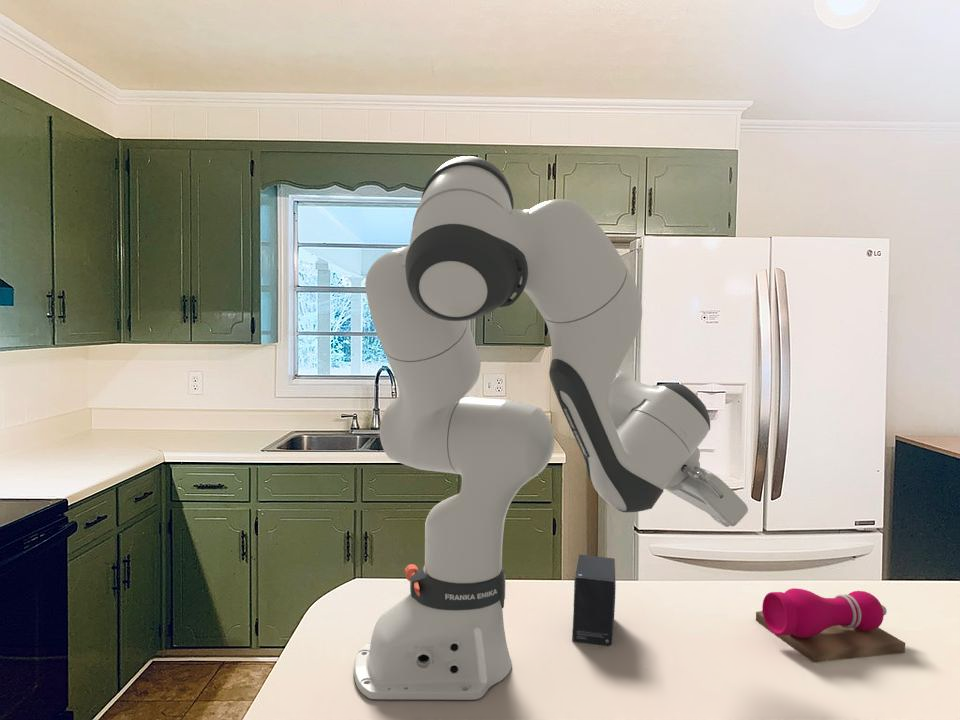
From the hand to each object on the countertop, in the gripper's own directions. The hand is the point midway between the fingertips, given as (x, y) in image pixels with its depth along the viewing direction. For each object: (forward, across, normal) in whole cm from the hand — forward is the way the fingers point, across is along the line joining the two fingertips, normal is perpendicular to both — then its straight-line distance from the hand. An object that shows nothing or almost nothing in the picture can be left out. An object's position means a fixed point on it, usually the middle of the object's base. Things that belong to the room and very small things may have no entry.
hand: (726, 521), depth 104 cm
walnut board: (+27, 0, +1) cm, 27 cm away
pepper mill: (+15, -2, +5) cm, 16 cm away
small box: (+1, +8, +26) cm, 28 cm away
